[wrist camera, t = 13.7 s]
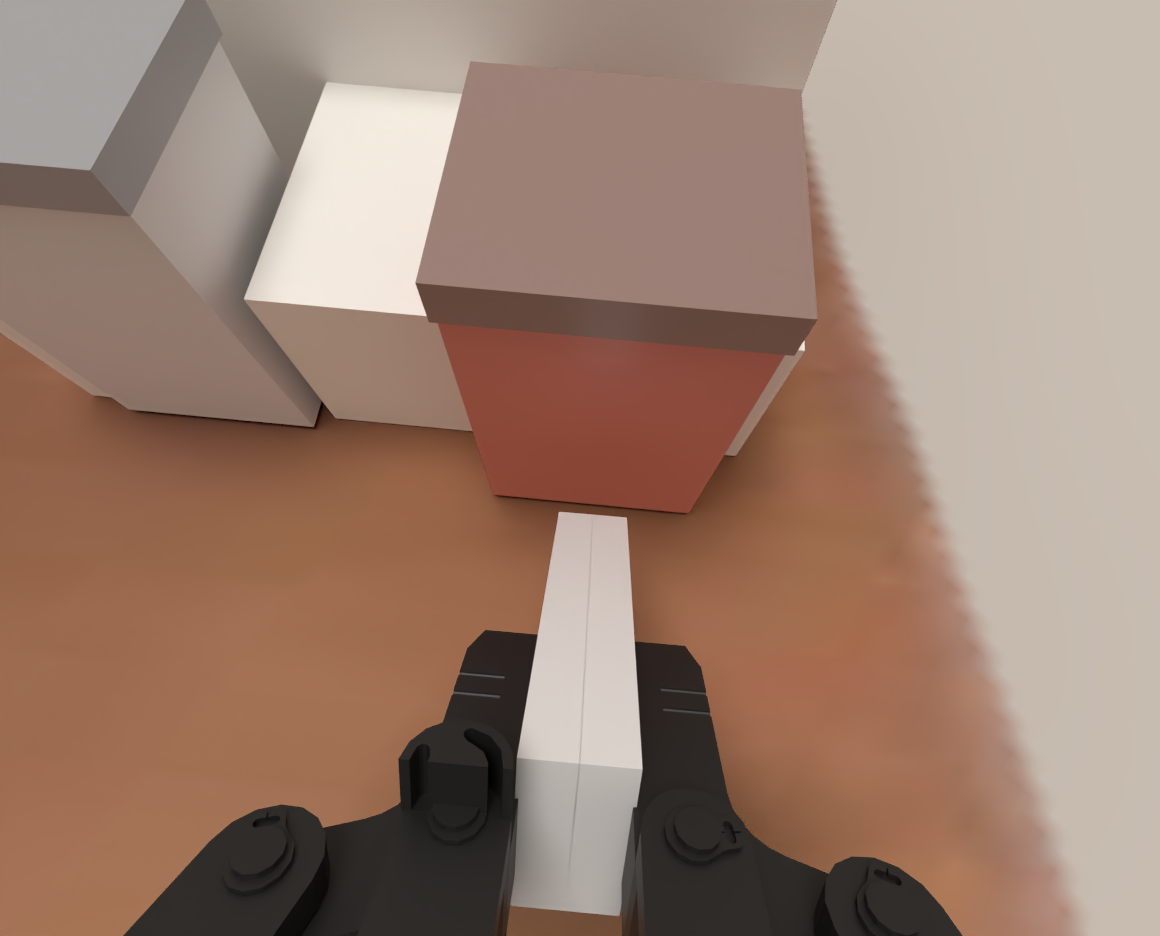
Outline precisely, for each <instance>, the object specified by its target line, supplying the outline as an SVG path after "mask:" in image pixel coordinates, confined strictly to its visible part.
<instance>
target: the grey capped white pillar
mask: <svg viewBox="0 0 1160 936" xmlns="http://www.w3.org/2000/svg"><path fill="white" fill-rule="evenodd" d="M221 36H222V32H221V30H220V28H219V26H218V24H217V22H216V20H215V18H214V16H213V14H212V12H211V10H210V8H209V6H208V4H207V2H206V0H0V320H2V321H3V322H5V323H6V324H7V325H9V326H10V327H12V328H13V329H15V330H16V331H17V332H19V333H20V334H22V335H23V336H25V337H26V338H27V339H29V340H30V341H32V342H33V343H35V344H36V345H37V346H39V347H40V348H42V349H43V350H45V351H46V352H47V353H49V354H50V355H52V356H53V357H54V358H56V359H57V360H59V361H60V362H62V363H63V364H64V365H66V366H67V367H69V368H70V369H72V370H73V371H74V372H76V373H77V374H79V375H80V376H82V377H83V378H84V379H86V380H87V381H89V382H90V383H92V384H93V385H94V386H96V387H97V388H99V389H100V390H101V391H103V392H104V393H106V394H107V395H109V396H110V397H111V398H113V399H114V400H116V401H117V402H119V403H120V404H121V405H123V406H124V407H126V408H127V409H129V410H139V411H150V412H160V413H171V414H182V415H192V416H203V417H213V418H224V419H234V420H245V421H256V422H266V423H277V424H287V425H298V426H308V427H314V425H315V422H316V418H317V415H318V412H319V408H320V405H321V401H322V400H321V399H320V398H319V396H318V395H317V394H316V393H315V391H314V390H313V389H312V387H311V386H310V385H309V383H308V382H307V381H306V380H305V378H304V377H303V376H302V374H301V373H300V372H299V371H298V369H297V368H296V367H295V365H294V364H293V363H292V361H291V360H290V359H289V358H288V356H287V355H286V354H285V352H284V351H283V350H282V349H281V347H280V346H279V345H278V343H277V342H276V341H275V339H274V338H273V337H272V336H271V334H270V333H269V332H268V330H267V329H266V328H265V326H264V325H263V324H262V323H261V321H260V320H259V319H258V317H257V316H256V315H255V314H254V312H253V311H252V310H251V308H250V307H249V306H248V304H247V303H246V302H245V301H244V297H245V294H246V292H247V289H248V286H249V284H250V281H251V279H252V276H253V273H254V271H255V268H256V265H257V263H258V260H259V258H260V255H261V252H262V250H263V247H264V244H265V242H266V239H267V237H268V234H269V231H270V229H271V226H272V223H273V221H274V218H275V216H276V213H277V210H278V208H279V205H280V202H281V200H282V197H283V194H284V192H285V189H286V187H287V184H288V181H289V177H288V175H287V173H286V171H285V169H284V167H283V165H282V163H281V161H280V159H279V157H278V155H277V153H276V152H275V150H274V148H273V146H272V144H271V142H270V140H269V138H268V136H267V134H266V132H265V130H264V128H263V126H262V124H261V122H260V120H259V118H258V116H257V114H256V113H255V111H254V109H253V107H252V105H251V103H250V101H249V99H248V97H247V95H246V93H245V91H244V89H243V87H242V85H241V83H240V81H239V79H238V77H237V75H236V74H235V72H234V70H233V68H232V66H231V64H230V62H229V60H228V58H227V56H226V54H225V52H224V50H223V48H222V46H221V44H220V42H219V40H220V38H221Z"/></svg>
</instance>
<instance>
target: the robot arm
mask: <svg viewBox="0 0 1160 936" xmlns="http://www.w3.org/2000/svg"><path fill="white" fill-rule="evenodd" d="M399 778H400V796H401V803H399V804H398V805H397V806H395V807H393V808H391V809H389V810H387V811H386V812H384V813H382V814H379V815H376V816H372V817H369V818H366V819H362V820H358V821H353V822H348V823H344V824H339V825H334V826H330V827H325V828H323V827H322V825H321V823H320V821H319V819H318V817H316V816H315V815H313V814H312V813H310V812H309V811H307V810H306V809H304V808H302V807H295V806H287V805H278V806H273V807H268V808H263V809H258V810H255V811H253V812H251V813H249V814H247V815H245V816H243V817H241V818H239V819H237V820H235V821H233V822H232V823H231V824H230V825H228V826H227V827H226V828H225V829H224V830H222V831H221V832H220V833H219V834H218V835H217V836H215V837H214V838H213V839H212V840H211V841H210V842H209V843H208V844H207V845H206V846H205V847H204V848H203V849H202V851H201V852H200V853H199V854H198V855H197V856H196V857H195V858H194V859H193V860H192V861H191V863H190V864H189V865H188V866H187V867H186V868H185V869H184V870H183V871H182V872H181V873H180V875H179V876H178V877H177V878H176V879H175V880H174V881H173V882H172V883H171V884H170V885H169V887H168V888H167V889H166V890H165V891H164V892H163V893H162V894H161V895H160V896H159V897H158V898H157V900H156V901H155V902H154V903H153V904H152V905H151V906H150V907H149V908H148V909H147V910H146V912H145V913H144V914H143V915H142V916H141V917H140V918H139V919H138V920H137V921H136V922H135V924H134V925H133V926H132V927H131V928H130V929H129V930H128V931H127V932H126V933H125V934H124V936H506V931H507V924H508V917H509V910H510V906H518V907H529V908H539V909H550V910H560V911H571V912H581V913H592V914H602V915H613V916H620V910H621V904H622V936H962V935H961V933H960V932H959V930H958V929H957V928H956V926H955V925H954V923H953V922H952V920H951V919H950V918H949V916H948V915H947V913H946V912H945V910H944V909H943V908H942V906H941V905H940V904H939V903H938V902H937V901H936V900H935V899H934V897H933V896H932V895H931V894H930V893H929V892H928V891H927V890H926V888H925V887H924V886H923V885H922V884H921V883H919V882H918V881H917V880H915V879H914V878H912V877H911V876H910V875H908V874H907V873H905V872H904V871H903V870H901V869H900V868H898V867H896V866H894V865H891V864H888V863H886V862H883V861H881V860H878V859H876V858H869V857H850V858H848V859H845V860H843V861H841V862H838V863H836V864H835V865H834V867H833V868H832V870H831V872H830V873H829V874H827V873H825V872H823V871H820V870H818V869H815V868H813V867H810V866H808V865H805V864H803V863H801V862H798V861H796V860H793V859H791V858H788V857H786V856H784V855H782V854H780V853H778V852H776V851H774V850H772V849H770V848H768V847H767V846H766V845H765V844H763V843H762V842H761V841H759V840H758V839H757V838H755V837H754V836H753V835H752V834H751V833H750V832H749V831H748V830H747V828H746V827H745V825H744V823H743V821H742V820H741V819H740V818H739V817H738V816H737V815H736V813H735V812H734V810H733V809H732V806H731V803H730V800H729V797H728V794H727V790H726V785H725V780H724V776H723V771H722V766H721V761H720V756H719V752H718V747H717V742H716V737H715V732H714V728H713V723H712V718H711V716H710V708H709V704H708V699H707V696H706V689H705V684H704V680H703V675H702V670H701V667H700V666H699V664H698V663H697V662H696V660H695V659H694V658H693V656H692V655H691V654H690V652H689V651H688V650H687V648H686V647H685V646H678V645H667V644H656V643H645V642H635V640H634V624H633V608H632V592H631V576H630V560H629V544H628V528H627V518H626V517H614V516H603V515H592V514H580V513H569V512H559V515H558V521H557V526H556V532H555V538H554V544H553V550H552V556H551V561H550V567H549V573H548V579H547V585H546V591H545V596H544V602H543V608H542V614H541V620H540V626H539V631H538V635H534V634H523V633H512V632H501V631H490V630H485V631H484V632H483V633H482V634H481V635H480V636H479V637H478V638H477V639H476V640H475V641H474V642H473V643H472V644H471V645H470V646H469V647H468V648H467V651H466V654H465V657H464V660H463V663H462V666H461V669H460V675H458V678H457V681H456V684H455V687H454V692H453V695H452V696H451V700H450V703H449V706H448V709H447V712H446V715H445V718H444V721H443V723H440V724H438V725H435V726H432V727H430V728H427V729H425V730H424V731H423V732H422V733H420V734H419V735H418V736H416V737H415V738H414V739H412V740H411V741H410V742H409V743H408V745H407V746H406V748H405V750H404V751H403V753H402V754H401V756H400V757H399Z"/></svg>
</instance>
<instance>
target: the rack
mask: <svg viewBox="0 0 1160 936" xmlns="http://www.w3.org/2000/svg"><path fill="white" fill-rule="evenodd" d="M206 2H207V4H208V6H209V8H210V10H211V12H212V14H213V16H214V18H215V20H216V22H217V24H218V26H219V28H220V30H221V32H222V36H221V38H220V40H219V42H220V44H221V46H222V48H223V50H224V52H225V54H226V56H227V58H228V60H229V62H230V64H231V66H232V68H233V70H234V72H235V74H236V75H237V77H238V79H239V81H240V83H241V85H242V87H243V89H244V91H245V93H246V95H247V97H248V99H249V101H250V103H251V105H252V107H253V109H254V111H255V113H256V114H257V116H258V118H259V120H260V122H261V124H262V126H263V128H264V130H265V132H266V134H267V136H268V138H269V140H270V142H271V144H272V146H273V148H274V150H275V152H276V153H277V155H278V157H279V159H280V161H281V163H282V165H283V167H284V169H285V171H286V173H287V175H288V177H289V181H288V184H287V187H286V189H285V192H284V194H283V197H282V200H281V202H280V205H279V208H278V210H277V213H276V216H275V218H274V221H273V223H272V226H271V229H270V231H269V234H268V237H267V239H266V242H265V244H264V247H263V250H262V252H261V255H260V258H259V260H258V263H257V265H256V268H255V271H254V273H253V276H252V279H251V281H250V284H249V286H248V289H247V292H246V294H245V297H244V301H245V302H246V303H247V304H248V306H249V307H250V308H251V310H252V311H253V312H254V314H255V315H256V316H257V317H258V319H259V320H260V321H261V323H262V324H263V325H264V326H265V328H266V329H267V330H268V332H269V333H270V334H271V336H272V337H273V338H274V339H275V341H276V342H277V343H278V345H279V346H280V347H281V349H282V350H283V351H284V352H285V354H286V355H287V356H288V358H289V359H290V360H291V361H292V363H293V364H294V365H295V367H296V368H297V369H298V371H299V372H300V373H301V374H302V376H303V377H304V378H305V380H306V381H307V382H308V383H309V385H310V386H311V387H312V389H313V390H314V391H315V393H316V394H317V395H318V396H319V398H320V399H321V400H322V402H323V403H324V404H325V406H326V407H327V408H328V409H329V411H330V412H331V413H332V415H333V416H334V417H335V418H337V419H348V420H358V421H369V422H379V423H390V424H401V425H411V426H422V427H432V428H443V429H454V430H464V431H472V428H471V425H470V422H469V419H468V416H467V412H466V409H465V406H464V403H463V400H462V397H461V394H460V391H459V388H458V385H457V382H456V379H455V376H454V372H453V369H452V366H451V363H450V360H449V357H448V354H447V351H446V348H445V345H444V342H443V339H442V336H441V332H440V329H439V326H438V323H431V322H429V321H428V318H427V315H426V313H425V310H424V307H423V304H422V301H421V298H420V295H419V292H418V289H417V287H416V284H415V282H416V278H417V274H418V270H419V266H420V262H421V258H422V254H423V250H424V246H425V242H426V238H427V234H428V230H429V225H430V221H431V217H432V213H433V209H434V205H435V201H436V197H437V193H438V189H439V185H440V181H441V177H442V173H443V169H444V165H445V161H446V157H447V153H448V149H449V145H450V141H451V137H452V133H453V129H454V125H455V121H456V117H457V113H458V109H459V105H460V101H461V96H462V92H463V88H464V84H465V80H466V76H467V72H468V68H469V64H470V61H474V62H486V63H498V64H510V65H521V66H533V67H545V68H556V69H568V70H580V71H592V72H603V73H615V74H627V75H639V76H650V77H662V78H674V79H685V80H697V81H709V82H721V83H732V84H744V85H756V86H768V87H779V88H791V89H801V94H802V92H803V89H804V87H805V84H806V81H807V79H808V76H809V73H810V71H811V68H812V65H813V63H814V60H815V58H816V55H817V52H818V50H819V47H820V44H821V42H822V39H823V37H824V34H825V31H826V29H827V26H828V23H829V21H830V18H831V15H832V13H833V10H834V8H835V5H836V2H837V0H206ZM0 333H2V334H3V335H5V336H6V337H8V338H9V339H10V340H12V341H13V342H15V343H16V344H18V345H19V346H21V347H22V348H24V349H25V350H27V351H28V352H30V353H31V354H33V355H34V356H36V357H37V358H38V359H40V360H41V361H43V362H44V363H46V364H47V365H49V366H50V367H52V368H53V369H55V370H56V371H58V372H59V373H61V374H62V375H63V376H65V377H66V378H68V379H69V380H71V381H72V382H74V383H75V384H77V385H78V386H80V387H81V388H83V389H84V390H86V391H87V392H89V393H90V394H91V395H93V396H104V397H110V396H109V395H107V394H106V393H104V392H103V391H101V390H100V389H99V388H97V387H96V386H94V385H93V384H92V383H90V382H89V381H87V380H86V379H84V378H83V377H82V376H80V375H79V374H77V373H76V372H74V371H73V370H72V369H70V368H69V367H67V366H66V365H64V364H63V363H62V362H60V361H59V360H57V359H56V358H54V357H53V356H52V355H50V354H49V353H47V352H46V351H45V350H43V349H42V348H40V347H39V346H37V345H36V344H35V343H33V342H32V341H30V340H29V339H27V338H26V337H25V336H23V335H22V334H20V333H19V332H17V331H16V330H15V329H13V328H12V327H10V326H9V325H7V324H6V323H5V322H3V321H2V320H0ZM804 351H805V345H804V342H803V343H802V345H801V346H800V348H799V349H798V351H797V353H796V354H795V356H790V355H785V356H784V358H783V360H782V361H781V363H780V365H779V366H778V368H777V369H776V371H775V373H774V374H773V376H772V378H771V379H770V381H769V383H768V384H767V386H766V388H765V389H764V391H763V392H762V394H761V396H760V397H759V399H758V401H757V402H756V404H755V406H754V407H753V409H752V411H751V412H750V414H749V415H748V417H747V419H746V420H745V422H744V424H743V425H742V427H741V429H740V430H739V432H738V433H737V435H736V437H735V438H734V440H733V442H732V443H731V445H730V447H729V448H728V450H727V452H726V453H725V455H729V456H736V455H737V453H738V452H739V450H740V449H741V447H742V446H743V444H744V443H745V441H746V440H747V438H748V437H749V435H750V434H751V432H752V431H753V429H754V428H755V426H756V424H757V423H758V421H759V420H760V418H761V417H762V415H763V414H764V412H765V411H766V409H767V408H768V406H769V405H770V403H771V402H772V400H773V399H774V397H775V396H776V394H777V392H778V391H779V389H780V388H781V386H782V385H783V383H784V382H785V380H786V379H787V377H788V376H789V374H790V373H791V371H792V370H793V368H794V367H795V365H796V364H797V362H798V360H799V359H800V357H801V356H802V354H803V353H804Z"/></svg>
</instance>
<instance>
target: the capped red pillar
mask: <svg viewBox="0 0 1160 936" xmlns="http://www.w3.org/2000/svg"><path fill="white" fill-rule="evenodd" d="M415 284H416V287H417V289H418V292H419V295H420V298H421V301H422V304H423V307H424V310H425V313H426V315H427V318H428V321H429V322H431V323H438V326H439V329H440V332H441V336H442V339H443V342H444V345H445V348H446V351H447V354H448V357H449V360H450V363H451V366H452V369H453V372H454V376H455V379H456V382H457V385H458V388H459V391H460V394H461V397H462V400H463V403H464V406H465V409H466V412H467V416H468V419H469V422H470V425H471V428H472V431H473V434H474V437H475V440H476V443H477V446H478V449H479V452H480V456H481V459H482V462H483V465H484V468H485V471H486V474H487V477H488V480H489V483H490V486H491V489H492V492H493V495H502V496H513V497H523V498H534V499H544V500H554V501H565V502H575V503H586V504H596V505H607V506H617V507H627V508H638V509H648V510H659V511H669V512H680V513H689V512H690V511H691V509H692V507H693V506H694V504H695V502H696V501H697V499H698V497H699V496H700V494H701V493H702V491H703V489H704V488H705V486H706V484H707V483H708V481H709V479H710V478H711V476H712V474H713V473H714V471H715V470H716V468H717V466H718V465H719V463H720V461H721V460H722V458H723V456H724V455H725V453H726V452H727V450H728V448H729V447H730V445H731V443H732V442H733V440H734V438H735V437H736V435H737V433H738V432H739V430H740V429H741V427H742V425H743V424H744V422H745V420H746V419H747V417H748V415H749V414H750V412H751V411H752V409H753V407H754V406H755V404H756V402H757V401H758V399H759V397H760V396H761V394H762V392H763V391H764V389H765V388H766V386H767V384H768V383H769V381H770V379H771V378H772V376H773V374H774V373H775V371H776V369H777V368H778V366H779V365H780V363H781V361H782V360H783V358H784V356H785V355H790V356H795V354H796V353H797V351H798V349H799V348H800V346H801V345H802V343H803V342H804V340H805V338H806V337H807V335H808V334H809V332H810V331H811V329H812V327H813V326H814V324H815V323H816V321H817V320H818V319H817V305H816V291H815V278H814V264H813V250H812V236H811V222H810V208H809V194H808V180H807V166H806V152H805V139H804V125H803V111H802V97H801V89H791V88H779V87H768V86H756V85H744V84H732V83H721V82H709V81H697V80H685V79H674V78H662V77H650V76H639V75H627V74H615V73H603V72H592V71H580V70H568V69H556V68H545V67H533V66H521V65H510V64H498V63H486V62H474V61H470V64H469V68H468V72H467V76H466V80H465V84H464V88H463V92H462V96H461V101H460V105H459V109H458V113H457V117H456V121H455V125H454V129H453V133H452V137H451V141H450V145H449V149H448V153H447V157H446V161H445V165H444V169H443V173H442V177H441V181H440V185H439V189H438V193H437V197H436V201H435V205H434V209H433V213H432V217H431V221H430V225H429V230H428V234H427V238H426V242H425V246H424V250H423V254H422V258H421V262H420V266H419V270H418V274H417V278H416V282H415Z"/></svg>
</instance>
